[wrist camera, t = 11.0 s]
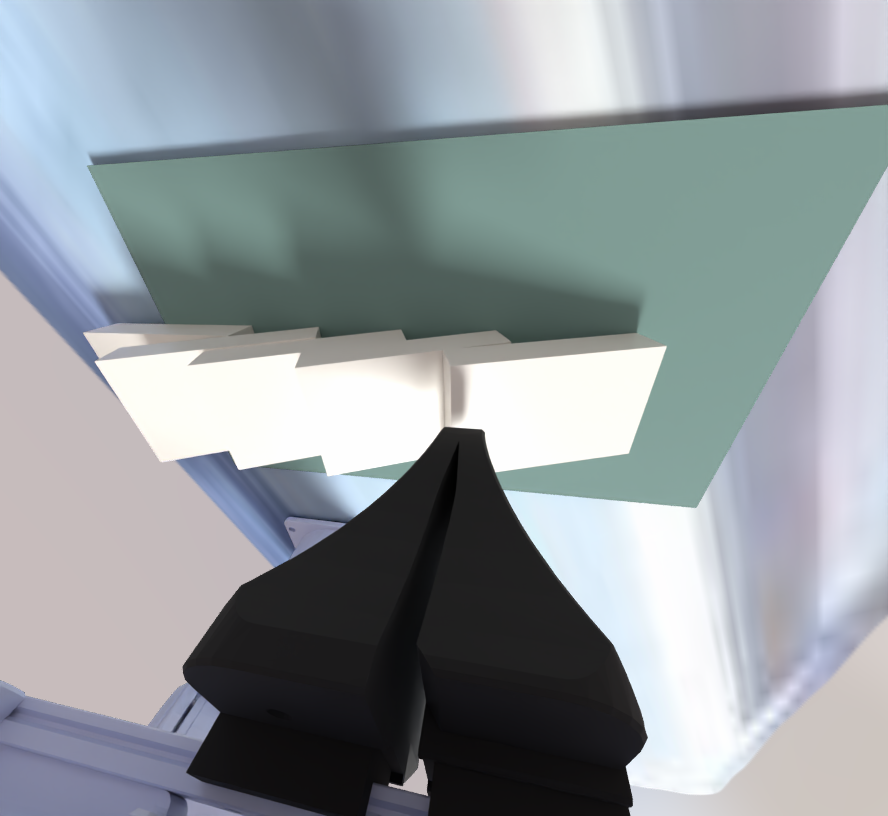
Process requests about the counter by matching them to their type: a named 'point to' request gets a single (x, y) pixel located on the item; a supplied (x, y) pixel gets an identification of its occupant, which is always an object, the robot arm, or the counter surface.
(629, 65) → the counter surface
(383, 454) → the domino
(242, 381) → the domino
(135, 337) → the end domino
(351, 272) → the mat
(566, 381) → the domino
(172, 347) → the domino
